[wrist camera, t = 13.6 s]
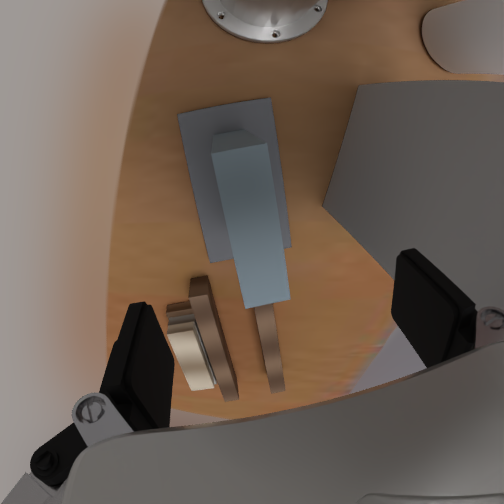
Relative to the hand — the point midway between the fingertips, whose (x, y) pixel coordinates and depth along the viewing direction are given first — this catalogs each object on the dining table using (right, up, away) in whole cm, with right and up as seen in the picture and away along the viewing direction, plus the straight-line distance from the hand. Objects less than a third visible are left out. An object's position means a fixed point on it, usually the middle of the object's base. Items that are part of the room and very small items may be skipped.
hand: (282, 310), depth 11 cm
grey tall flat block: (+11, +13, +21) cm, 27 cm away
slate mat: (-3, +9, +21) cm, 23 cm away
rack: (-3, -8, +29) cm, 30 cm away
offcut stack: (-9, -9, +29) cm, 31 cm away
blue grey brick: (-2, +9, +20) cm, 22 cm away
